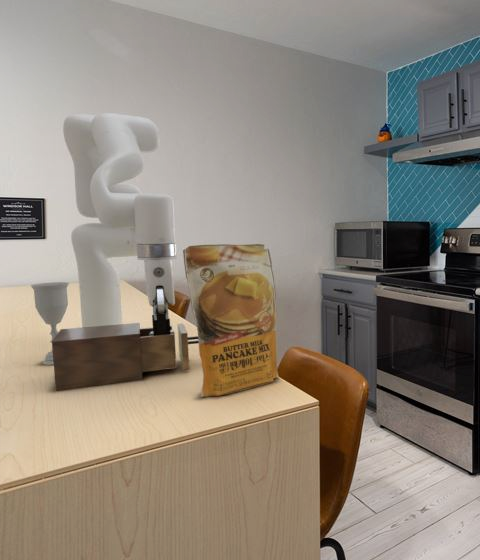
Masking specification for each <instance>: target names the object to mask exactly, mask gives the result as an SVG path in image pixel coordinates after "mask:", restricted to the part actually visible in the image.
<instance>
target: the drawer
mask: <svg viewBox="0 0 480 560" xmlns="http://www.w3.org/2000/svg"><path fill="white" fill-rule="evenodd" d="M170 330H173V326H172V325H170ZM152 331H153V327H144V328H143V327H142V328H140V347H141V363H142V373H146V372H154V371H162V370H170V369H171V370H172V369H176V368H177V356H176V357H175V351H176V338H175V339H174V334H167V335H156V336H149V334H150V332H152ZM177 337H178V356H179V360H180V363H181V367H182V370H188V369H190V358H189V357H190V356H189V355H190V354H189V345H194V344H195V345H196V344H199V342H198V335H195V336H194V335H193V336H188V331H187V329H186V326H185V324H184V323H177Z"/></svg>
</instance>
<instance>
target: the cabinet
mask: <svg viewBox="0 0 480 560" xmlns="http://www.w3.org/2000/svg"><path fill="white" fill-rule="evenodd" d="M140 329H141V326H140V322H131V323H122V324H119V325H106V326H94V327H72V328H61V329H60V330H59V331H57V332H58V334H57V335H56V337H55V338H54V340H53V341H52V343H51V351H52V350H53V362H54V365H53V373H54V384H55V391H64V390H72V389H80V388H89V387H95V386H102V385H103V386H104V385H111V384H117V383H118V384H119V383H127V382H132V381H133V382H134V381H142V380H143V372H142V363H141V347H140Z"/></svg>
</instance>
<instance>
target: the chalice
mask: <svg viewBox="0 0 480 560" xmlns="http://www.w3.org/2000/svg"><path fill="white" fill-rule="evenodd" d="M69 283H70V282H66V281H65V282H63V281H62V282H61V281H59V282H43V283H42V282H41V283H34V284H31V285H30V287H31V289H32V290H33V293H34V295H33V297H34V308H35V309H36V312H37V313H38V315H39V317H40V318H41V320H43V322H44V323H45V324H46V325H50V328H51V329H50V333H49V335H50V336H51V340H50V343H51V344H52V341H53V340H54V338H55V337H56V335H57V334H58V332H59V331H58V329H57V326H58V324H60V323H61V322H62V320H63V319H64V316H65V315H66V312H67V308H68V305H69V300H68V286H69ZM42 365H48V366H54V362H53V350H52V349H51V350H50V351H49V352H47V353H46V355H45V357H44V361H43V362H42Z"/></svg>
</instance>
